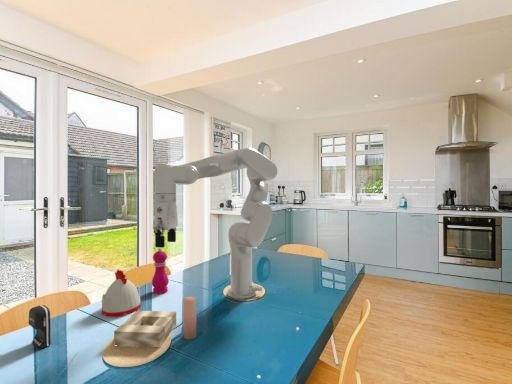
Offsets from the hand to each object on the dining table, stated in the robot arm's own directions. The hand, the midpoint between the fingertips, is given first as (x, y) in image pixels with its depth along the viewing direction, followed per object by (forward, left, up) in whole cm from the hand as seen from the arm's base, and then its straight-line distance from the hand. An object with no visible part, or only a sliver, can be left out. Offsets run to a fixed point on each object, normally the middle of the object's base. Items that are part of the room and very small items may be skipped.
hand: (166, 244), depth 105 cm
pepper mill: (+12, -22, -26) cm, 36 cm away
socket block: (+1, +14, -26) cm, 30 cm away
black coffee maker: (+31, +22, -26) cm, 46 cm away
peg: (-13, +14, -26) cm, 33 cm away
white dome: (+20, -4, -27) cm, 33 cm away
